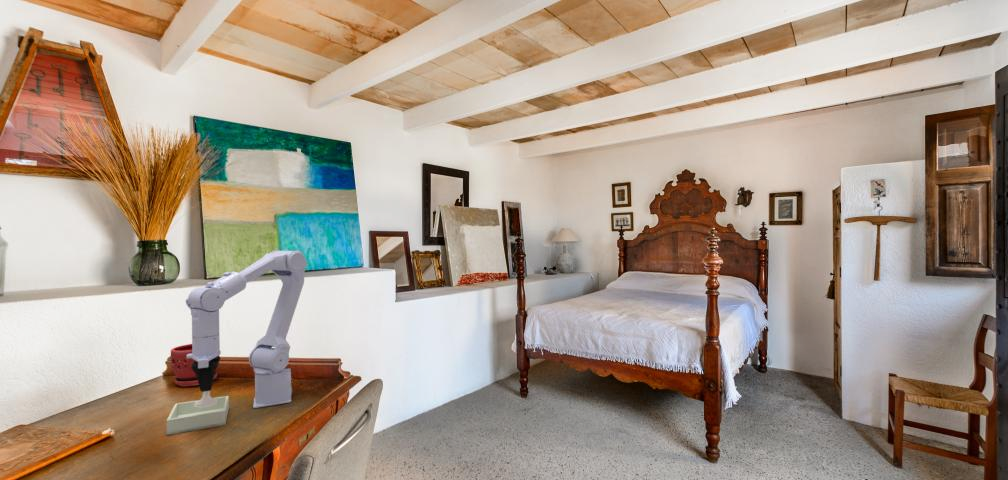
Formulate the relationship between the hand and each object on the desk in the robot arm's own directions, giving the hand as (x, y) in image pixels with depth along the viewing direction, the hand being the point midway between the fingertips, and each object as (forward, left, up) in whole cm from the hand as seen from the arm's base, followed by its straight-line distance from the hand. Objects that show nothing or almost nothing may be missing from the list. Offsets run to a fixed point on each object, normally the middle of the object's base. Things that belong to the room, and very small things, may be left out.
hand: (206, 389), depth 112 cm
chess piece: (0, 0, -4) cm, 4 cm away
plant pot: (+7, -42, -10) cm, 43 cm away
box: (+2, -4, -9) cm, 11 cm away
